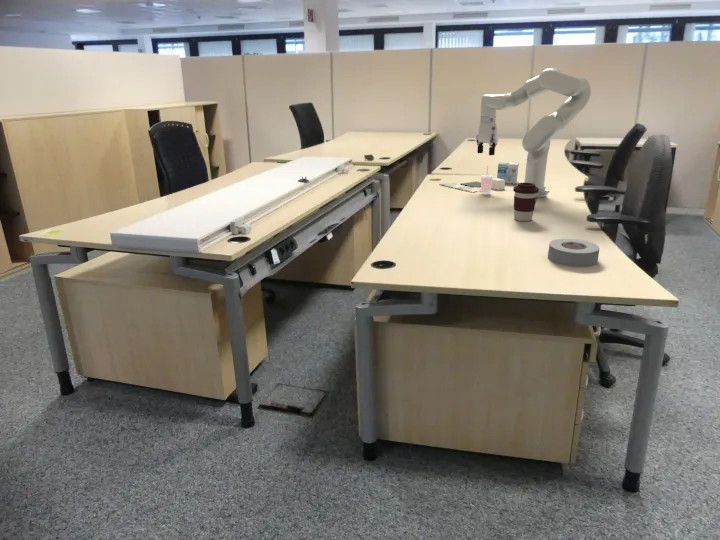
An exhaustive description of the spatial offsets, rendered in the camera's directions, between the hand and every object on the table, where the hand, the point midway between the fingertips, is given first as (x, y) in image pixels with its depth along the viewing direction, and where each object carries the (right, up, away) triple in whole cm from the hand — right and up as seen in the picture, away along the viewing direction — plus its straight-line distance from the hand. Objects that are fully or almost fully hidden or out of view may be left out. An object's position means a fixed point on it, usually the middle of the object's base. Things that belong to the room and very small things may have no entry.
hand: (485, 154), depth 277 cm
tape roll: (+4, -57, -102) cm, 117 cm away
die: (+8, -17, +7) cm, 20 cm away
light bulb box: (+18, -11, +25) cm, 32 cm away
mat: (-1, -13, +17) cm, 22 cm away
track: (-11, -16, +11) cm, 22 cm away
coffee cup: (+3, -39, -54) cm, 67 cm away
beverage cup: (-1, -21, -4) cm, 21 cm away
